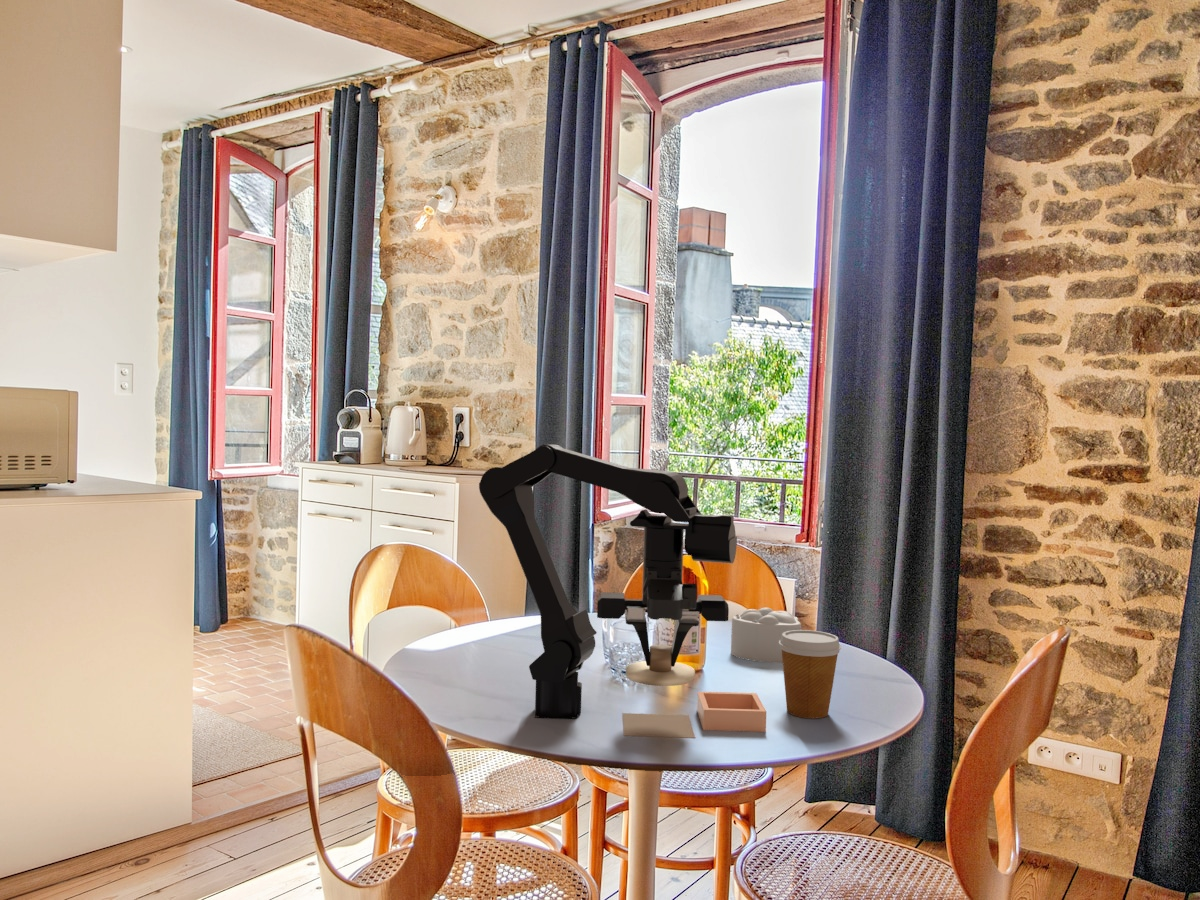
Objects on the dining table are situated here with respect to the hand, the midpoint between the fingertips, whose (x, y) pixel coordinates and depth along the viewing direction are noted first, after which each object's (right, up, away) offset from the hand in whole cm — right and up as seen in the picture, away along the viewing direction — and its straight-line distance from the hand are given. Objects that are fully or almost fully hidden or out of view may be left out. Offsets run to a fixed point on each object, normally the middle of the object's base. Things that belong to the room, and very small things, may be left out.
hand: (660, 665), depth 134 cm
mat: (0, -9, 0) cm, 9 cm away
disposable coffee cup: (+24, -10, +10) cm, 28 cm away
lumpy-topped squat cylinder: (+23, -9, +46) cm, 52 cm away
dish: (+11, -10, +3) cm, 15 cm away
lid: (0, -2, 0) cm, 2 cm away
